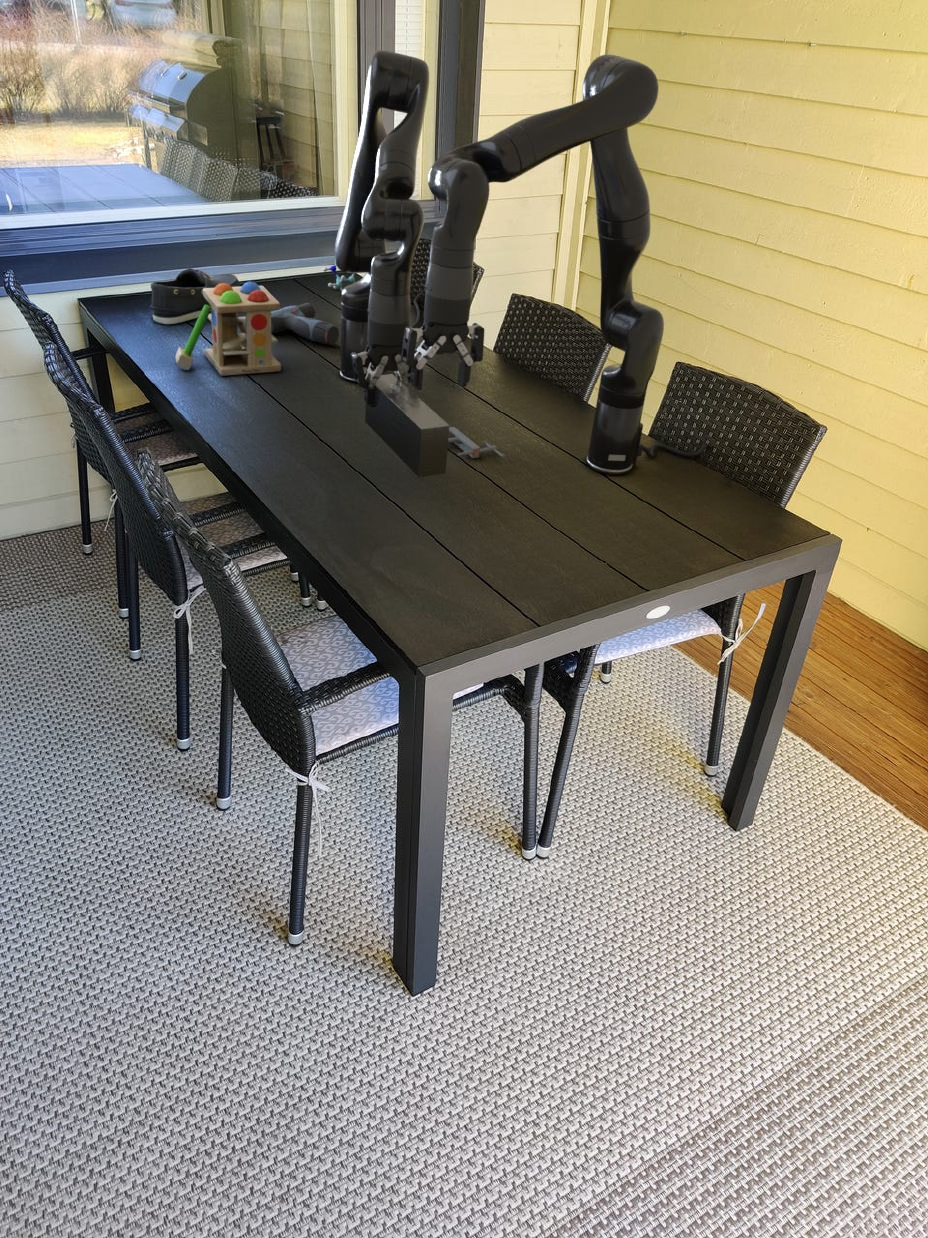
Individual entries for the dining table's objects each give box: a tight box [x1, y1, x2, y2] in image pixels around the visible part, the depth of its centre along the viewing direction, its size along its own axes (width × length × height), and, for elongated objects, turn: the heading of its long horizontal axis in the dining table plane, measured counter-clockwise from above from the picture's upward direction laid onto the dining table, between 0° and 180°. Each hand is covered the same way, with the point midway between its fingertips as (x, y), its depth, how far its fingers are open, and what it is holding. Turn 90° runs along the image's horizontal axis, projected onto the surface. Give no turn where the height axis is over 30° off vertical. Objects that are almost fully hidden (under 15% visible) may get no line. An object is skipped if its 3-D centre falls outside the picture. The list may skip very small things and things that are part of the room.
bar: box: [364, 373, 450, 478], centre depth 180 cm, size 25×5×9 cm, turn 27°
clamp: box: [448, 426, 507, 460], centre depth 201 cm, size 15×2×10 cm
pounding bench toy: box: [174, 281, 282, 377], centre depth 225 cm, size 23×14×18 cm, turn 116°
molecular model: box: [322, 261, 356, 292], centre depth 284 cm, size 12×10×10 cm
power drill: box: [271, 302, 340, 346], centre depth 252 cm, size 5×19×20 cm
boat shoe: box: [150, 268, 242, 325], centre depth 260 cm, size 13×33×10 cm, turn 147°
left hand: (385, 403), depth 186 cm, fingers closed on bar, 5 cm apart
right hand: (439, 386), depth 168 cm, fingers open, 8 cm apart
